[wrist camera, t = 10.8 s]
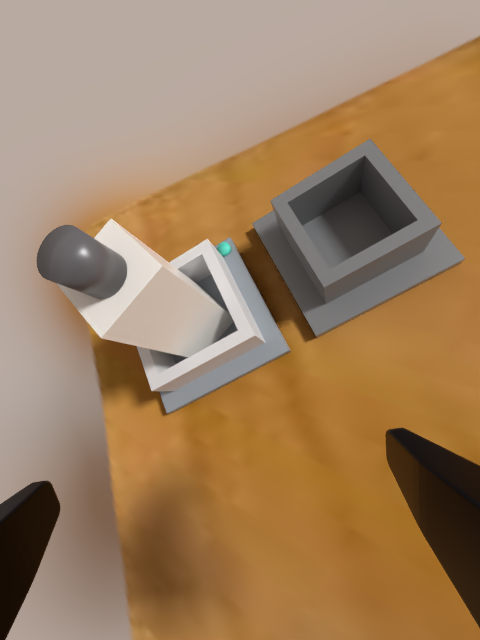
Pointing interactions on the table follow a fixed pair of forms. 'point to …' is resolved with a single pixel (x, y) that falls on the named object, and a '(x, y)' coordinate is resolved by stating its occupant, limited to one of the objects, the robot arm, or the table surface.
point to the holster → (353, 238)
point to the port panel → (236, 342)
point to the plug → (131, 291)
